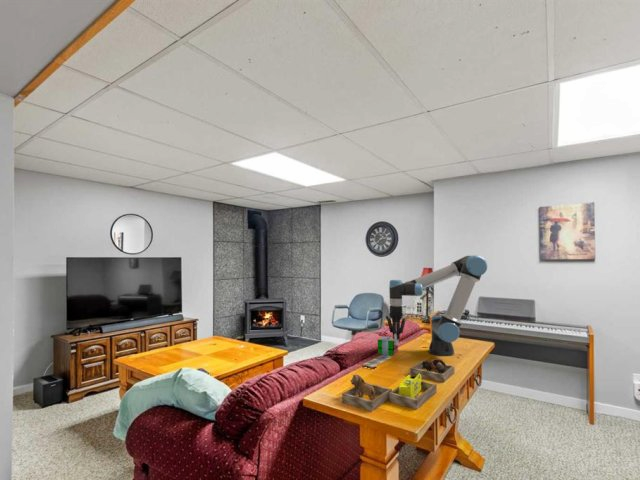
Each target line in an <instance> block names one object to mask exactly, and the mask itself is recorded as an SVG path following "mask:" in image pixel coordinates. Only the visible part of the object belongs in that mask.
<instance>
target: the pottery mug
mask: <svg viewBox="0 0 640 480" xmlns="http://www.w3.org/2000/svg"><path fill="white" fill-rule="evenodd" d="M437 363H439V364H442V365H444V368H439V367H437V366H436V364H437ZM425 364H426V365H427V366H426V365H425ZM422 365H423V367H424V368H423V369H424V370H425V371H430V372H431V371H433V372H435V373H440V374H443V373H444V372H445V371H446V365H447V364H446V362H445V361H443V360H442V359H440V358H433V359H432V360H430V361H429V362H428V360H423V362H422Z"/></svg>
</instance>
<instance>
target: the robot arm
mask: <svg viewBox="0 0 640 480" xmlns="http://www.w3.org/2000/svg"><path fill="white" fill-rule="evenodd" d="M487 270H488V263H487V261H486V259H485V258H484V257H483V256H480V255H476V254H474V255H473V254H472V255H465V256H463V257H461V258H459V259H457V260H455V261H452V262H451V263H450V265H447V266H444V267H441V268H439V269H437V270H435V271H432V272H430V273H429V272H428V273H427V274H424V275H422V276H419V277H417V278H415V279H412V280H409V281H406V282H405V281H404V282H403V280H402V279H391V280H389V285H388V287H389V288H388V289H389V291H388V293H389V314H388V315H386V316H385V318H386V321H387V324H388V330H389V333H391V334H392V337H393V339H394V345H399V340H400V339H401V336H400V335H401V334H403V333H404V328H405V323H406V321H407V319H408V317H405V316H404V314H403V306H402V305H403V297H404V296H411V297H419V296H420V297H421V296H422V295H423V291H424V289H426V288H428V287H431V286H434V285H436V284H439V283H442V282H444V281H446V280H449V279H452V278H453V277H459V280H458V283H457V285H456V288H455V290H454V292H453V295H452V297H451V299H450V302H449V304H448V307H447V309H446V312H445V313H444V314H443V313H442V315H432V316H431V318H430V323H431V332H430V333H431V341H430V343H429V348H428V352H429V353H430V354H432V355H437V356H442V357H443V356H444V357H446V356H453V355H455V349H454V345H453V342H455V341H456V340H458V339H459V338H460V334H461V331H460V328H461V325H462V321H461V318H462V315H463V313H464V311H465V308H466V307H467V304H468V302H469V299H470V297H471V294H472V292H473V290H474V287H475V285H476V283H477V282H479V281H480V280H481V277H482V275H484V274H486V272H487Z"/></svg>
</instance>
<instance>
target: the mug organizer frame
mask: <svg viewBox="0 0 640 480" xmlns="http://www.w3.org/2000/svg"><path fill="white" fill-rule="evenodd" d="M423 361H424V360H421V361H419V362H417V363H416V364H414V365H413V366H411V367H410V368H409V375H410V376H411V377H412V376H415V377H416V376H417V375H418V374H419V373H420V375H421V379H427V380H431V381H436V382H440V383H445V382H446V381H447V380H448V379H450V378H451V377H452V376H453V375H454V374H455V368H456V367H455V365H450V364H446V371H445V372H444V373H443V374H440V373H435V371H431V370H430V371H427V370H426V369H425V368H424V367H423V365H422V362H423ZM427 361H428V360H427ZM428 362H430V361H428ZM425 365H426V364H425ZM426 366H427V365H426ZM436 366H437V367H439V368H444V365H442V363H440V362H439V363H437V364H436Z"/></svg>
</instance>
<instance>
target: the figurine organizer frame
mask: <svg viewBox="0 0 640 480" xmlns="http://www.w3.org/2000/svg"><path fill="white" fill-rule="evenodd" d="M365 383H366V384H367V385H370V386H373V388H374V390H375V392H374V393H375V395H377V396H375V399H373V400H372V401H371V400H370V399H366V398H364V397H361V398H360V397H357V396H359V394H358V390H357V389H356V387H355V386H353V387H352V388H350V389H348V390H346V391H345V392H343V393H342V394H341V397H342V399H341V401H342V403H344V404H346V405H350V406H353V407H356V408H360V409H362V410H366V411H370V412H374V411H375V410H377V409H379V407H381V406H383V405H384V404H385V403H386V402H389V393H390V392H391V391H393V390H392V388H389V387H385V386H381V385H377V384H372V383H370V382H369V383H368V382H365ZM361 394H362V391H361Z"/></svg>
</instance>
